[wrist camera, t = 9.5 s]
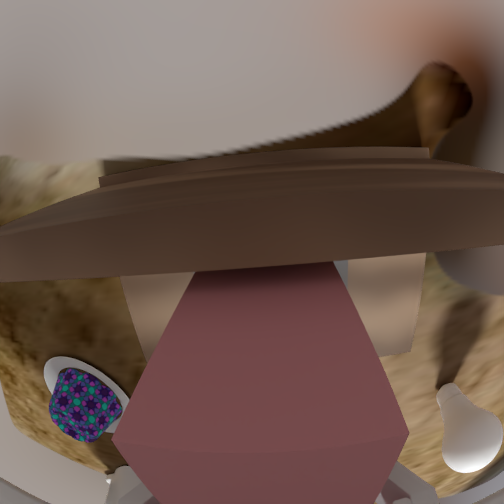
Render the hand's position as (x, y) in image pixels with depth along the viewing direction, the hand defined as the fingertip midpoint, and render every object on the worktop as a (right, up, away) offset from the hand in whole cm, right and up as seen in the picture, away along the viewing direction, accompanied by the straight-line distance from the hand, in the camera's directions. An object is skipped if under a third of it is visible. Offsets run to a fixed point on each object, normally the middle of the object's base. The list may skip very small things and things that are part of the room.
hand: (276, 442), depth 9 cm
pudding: (-19, -9, +19) cm, 28 cm away
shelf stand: (+1, +5, +12) cm, 13 cm away
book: (0, +2, +4) cm, 5 cm away
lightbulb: (+19, -7, +16) cm, 26 cm away
